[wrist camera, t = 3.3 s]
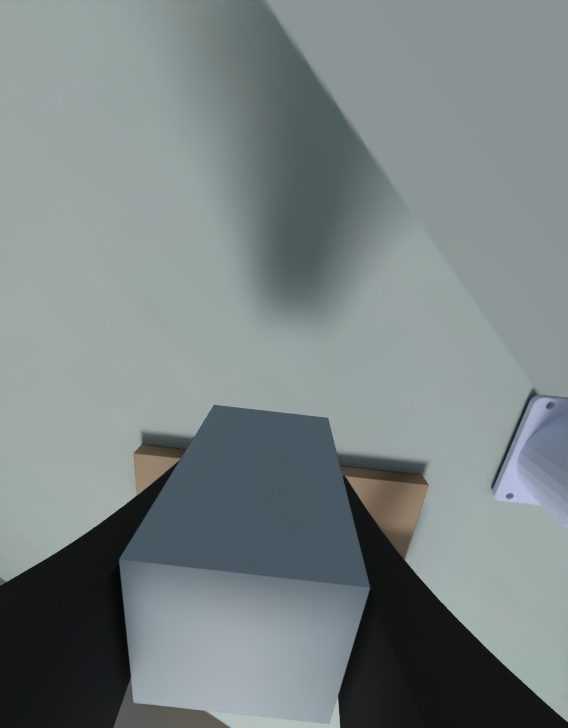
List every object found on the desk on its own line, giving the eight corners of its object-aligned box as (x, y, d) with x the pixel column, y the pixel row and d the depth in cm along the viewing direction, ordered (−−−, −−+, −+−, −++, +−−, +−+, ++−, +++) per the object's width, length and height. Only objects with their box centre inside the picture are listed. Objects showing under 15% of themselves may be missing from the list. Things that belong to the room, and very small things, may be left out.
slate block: (328, 417, 10) (370, 587, 5) (311, 507, 12) (329, 724, 6) (214, 404, 10) (118, 559, 5) (210, 496, 12) (133, 703, 6)
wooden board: (422, 475, 19) (453, 523, 16) (371, 637, 25) (385, 702, 21) (141, 444, 19) (104, 486, 16) (152, 614, 25) (127, 675, 21)
